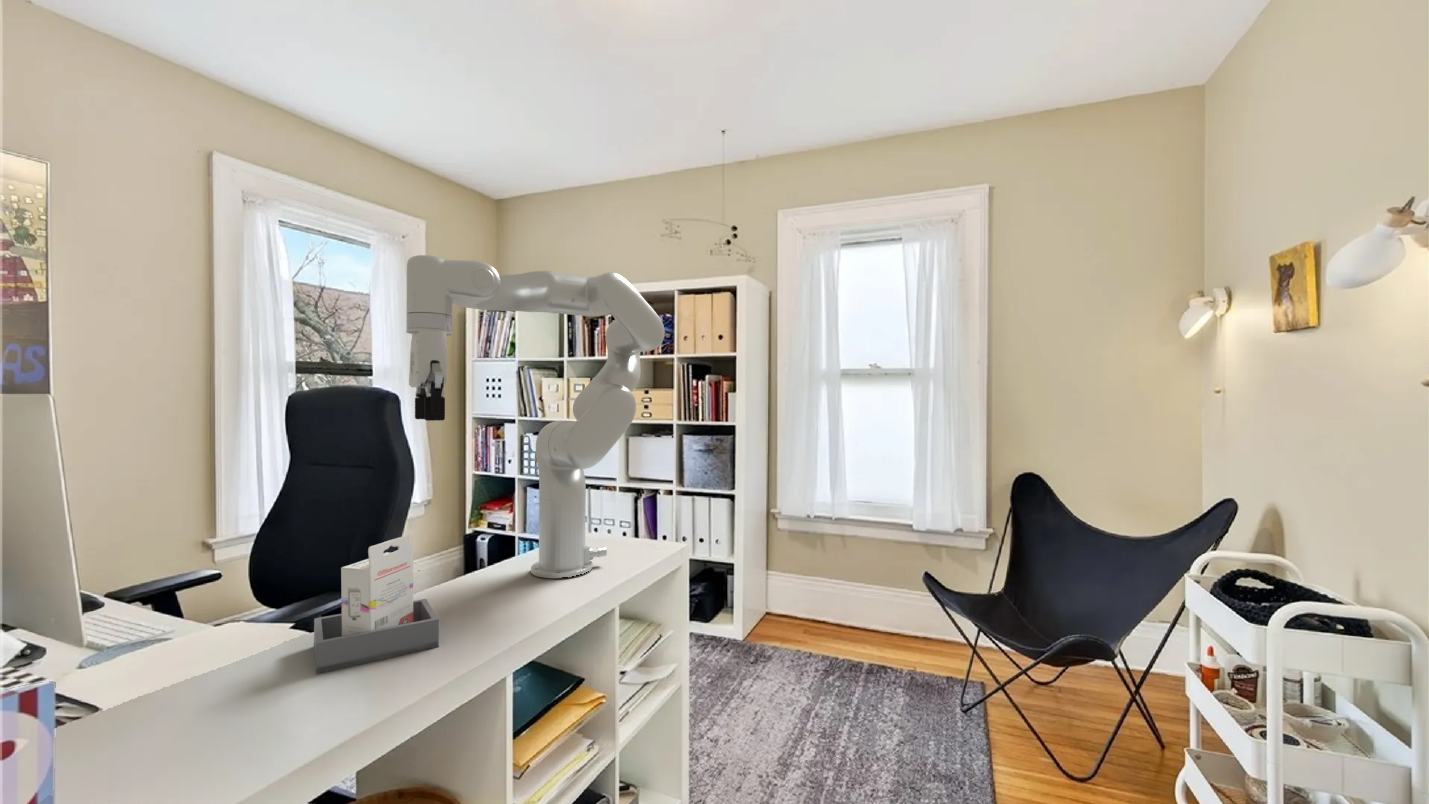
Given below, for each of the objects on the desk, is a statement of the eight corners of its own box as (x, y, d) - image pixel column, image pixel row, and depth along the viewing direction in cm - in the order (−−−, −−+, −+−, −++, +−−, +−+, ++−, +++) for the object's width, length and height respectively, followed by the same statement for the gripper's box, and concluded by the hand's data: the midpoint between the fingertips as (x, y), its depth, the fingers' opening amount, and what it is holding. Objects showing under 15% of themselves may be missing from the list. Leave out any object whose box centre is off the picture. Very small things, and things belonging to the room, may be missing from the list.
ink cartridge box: (386, 627, 88) (386, 531, 88) (414, 630, 87) (415, 533, 87) (338, 651, 79) (339, 545, 79) (369, 654, 78) (370, 547, 78)
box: (425, 623, 92) (425, 598, 92) (438, 646, 83) (438, 619, 83) (314, 646, 83) (314, 618, 83) (315, 674, 74) (316, 643, 74)
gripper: (399, 329, 109) (399, 418, 109) (414, 318, 95) (414, 421, 95) (442, 332, 113) (442, 418, 113) (463, 322, 100) (462, 420, 99)
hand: (429, 419), depth 104 cm, fingers open, 9 cm apart
